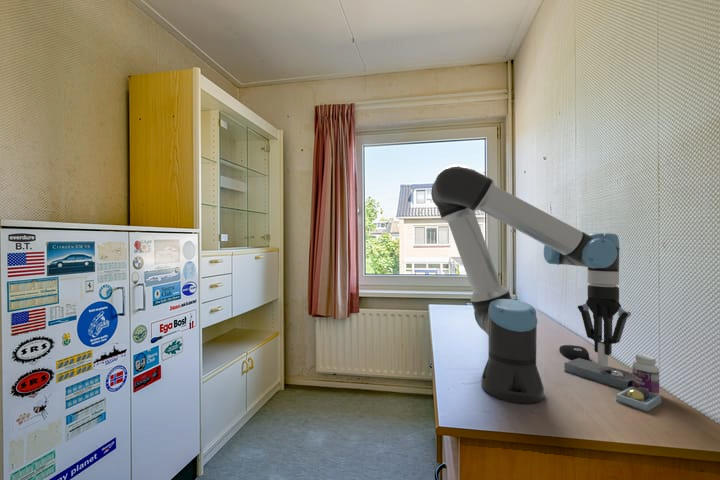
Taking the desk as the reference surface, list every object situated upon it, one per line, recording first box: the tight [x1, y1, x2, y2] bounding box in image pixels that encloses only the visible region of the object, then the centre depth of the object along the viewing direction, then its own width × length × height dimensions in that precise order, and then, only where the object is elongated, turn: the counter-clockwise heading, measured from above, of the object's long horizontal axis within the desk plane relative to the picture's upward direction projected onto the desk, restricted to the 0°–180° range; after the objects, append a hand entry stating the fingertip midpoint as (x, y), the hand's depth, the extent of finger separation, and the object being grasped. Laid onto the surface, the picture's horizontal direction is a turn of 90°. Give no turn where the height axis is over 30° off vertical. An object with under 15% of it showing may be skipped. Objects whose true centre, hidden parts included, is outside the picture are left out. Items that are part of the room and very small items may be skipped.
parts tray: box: [616, 387, 662, 413], centre depth 80 cm, size 9×6×2 cm, turn 121°
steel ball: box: [611, 371, 624, 376], centre depth 92 cm, size 3×3×3 cm
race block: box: [564, 358, 633, 391], centre depth 95 cm, size 9×16×2 cm, turn 31°
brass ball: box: [627, 389, 644, 402], centre depth 79 cm, size 3×3×3 cm
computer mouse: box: [558, 343, 590, 361], centre depth 113 cm, size 8×12×4 cm, turn 166°
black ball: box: [636, 387, 649, 399], centre depth 81 cm, size 3×3×3 cm
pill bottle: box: [631, 353, 660, 395], centre depth 85 cm, size 5×5×10 cm
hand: (602, 364), depth 95 cm, fingers closed
